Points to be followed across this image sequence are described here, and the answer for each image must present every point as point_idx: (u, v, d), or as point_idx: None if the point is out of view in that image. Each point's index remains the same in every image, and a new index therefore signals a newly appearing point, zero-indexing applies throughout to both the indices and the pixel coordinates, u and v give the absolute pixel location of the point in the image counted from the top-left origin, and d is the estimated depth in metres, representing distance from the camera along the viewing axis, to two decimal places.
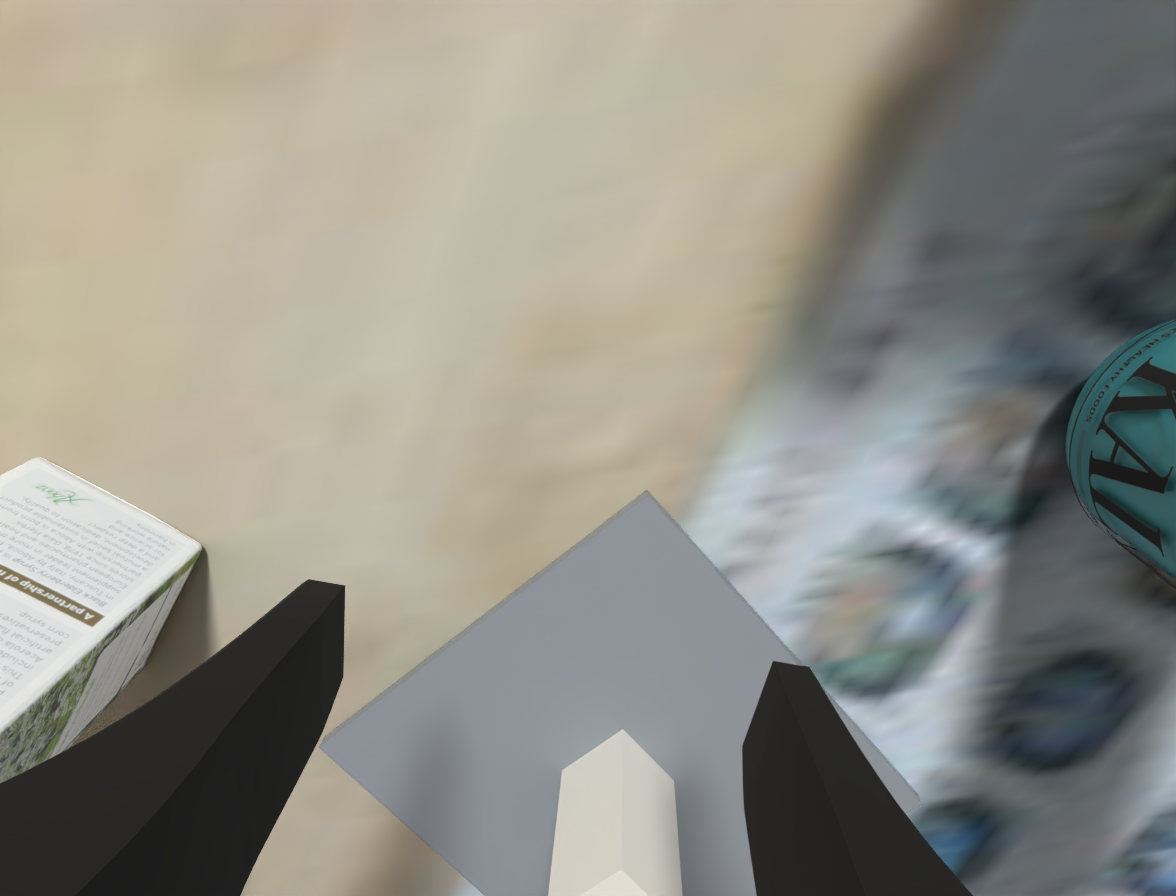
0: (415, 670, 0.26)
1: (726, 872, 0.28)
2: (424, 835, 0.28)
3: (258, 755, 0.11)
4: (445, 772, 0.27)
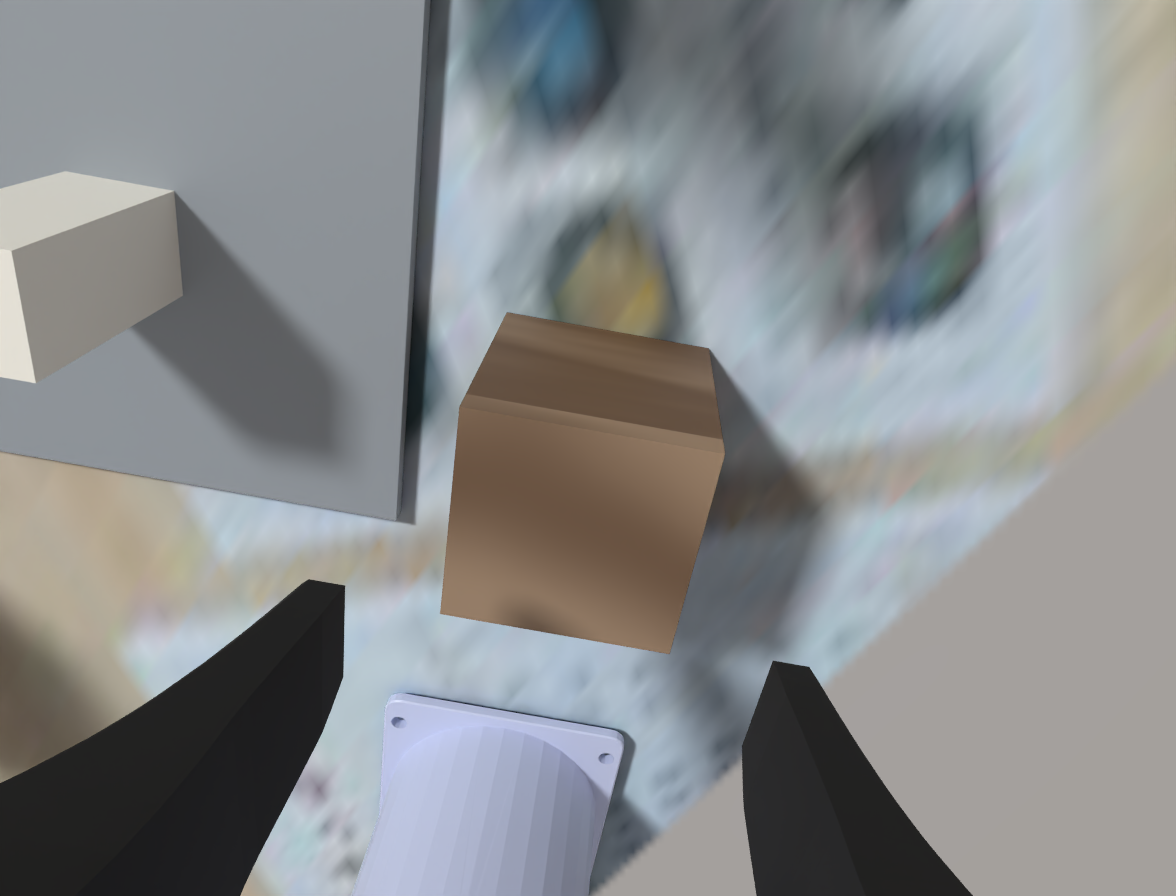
0: None
1: (344, 263, 0.20)
2: (77, 458, 0.23)
3: (258, 755, 0.11)
4: None
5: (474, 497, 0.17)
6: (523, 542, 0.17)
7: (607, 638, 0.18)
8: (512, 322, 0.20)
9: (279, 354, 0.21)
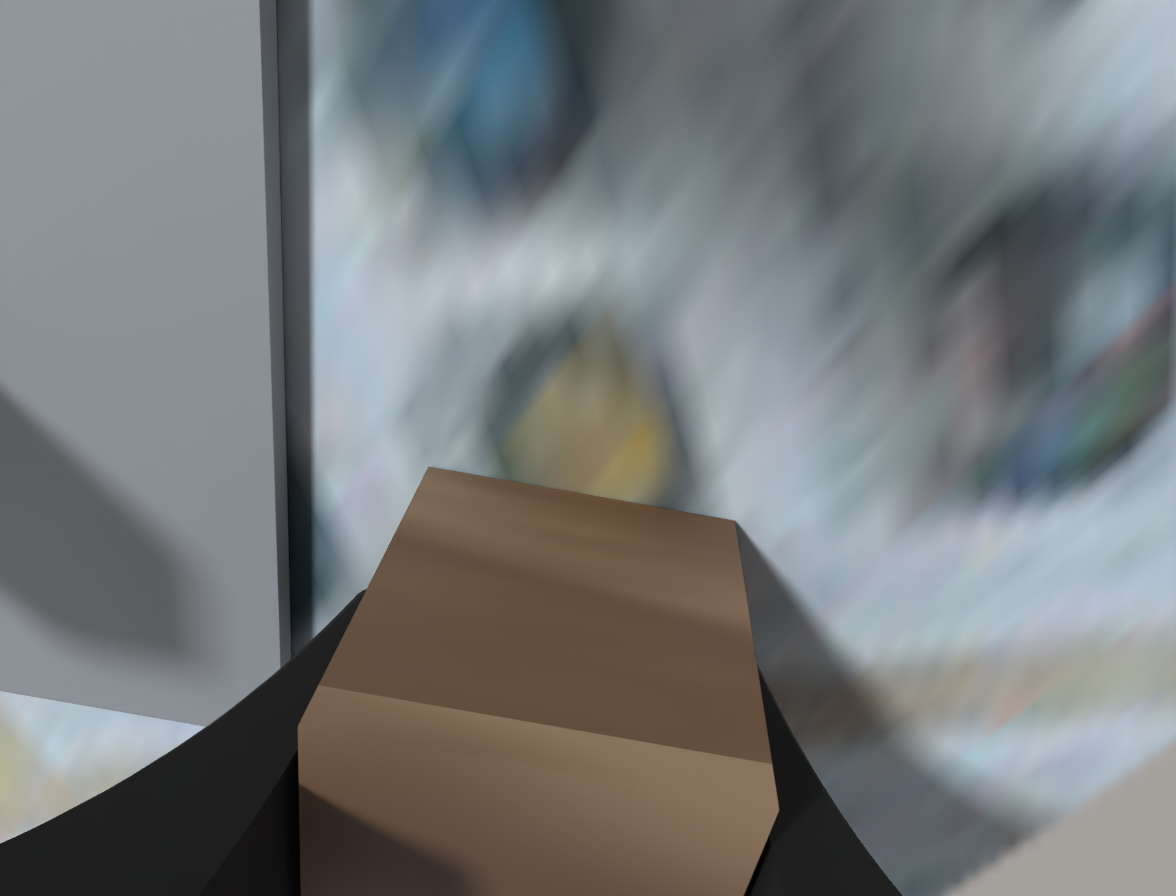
0: None
1: (171, 400, 0.13)
2: None
3: None
4: None
5: (340, 851, 0.10)
6: None
7: None
8: (433, 489, 0.13)
9: (90, 524, 0.14)
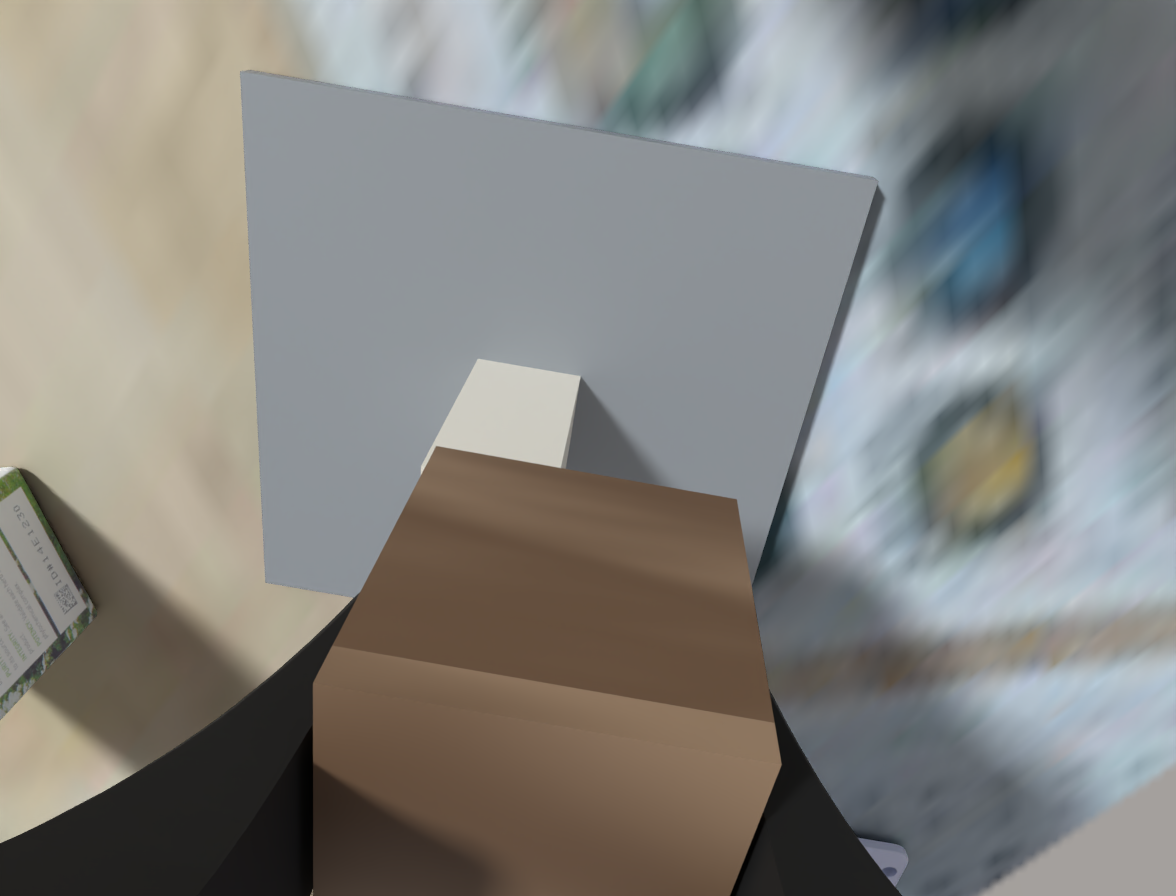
0: None
1: (732, 439, 0.21)
2: None
3: None
4: (379, 529, 0.23)
5: (352, 810, 0.10)
6: (439, 872, 0.10)
7: None
8: (441, 467, 0.13)
9: None
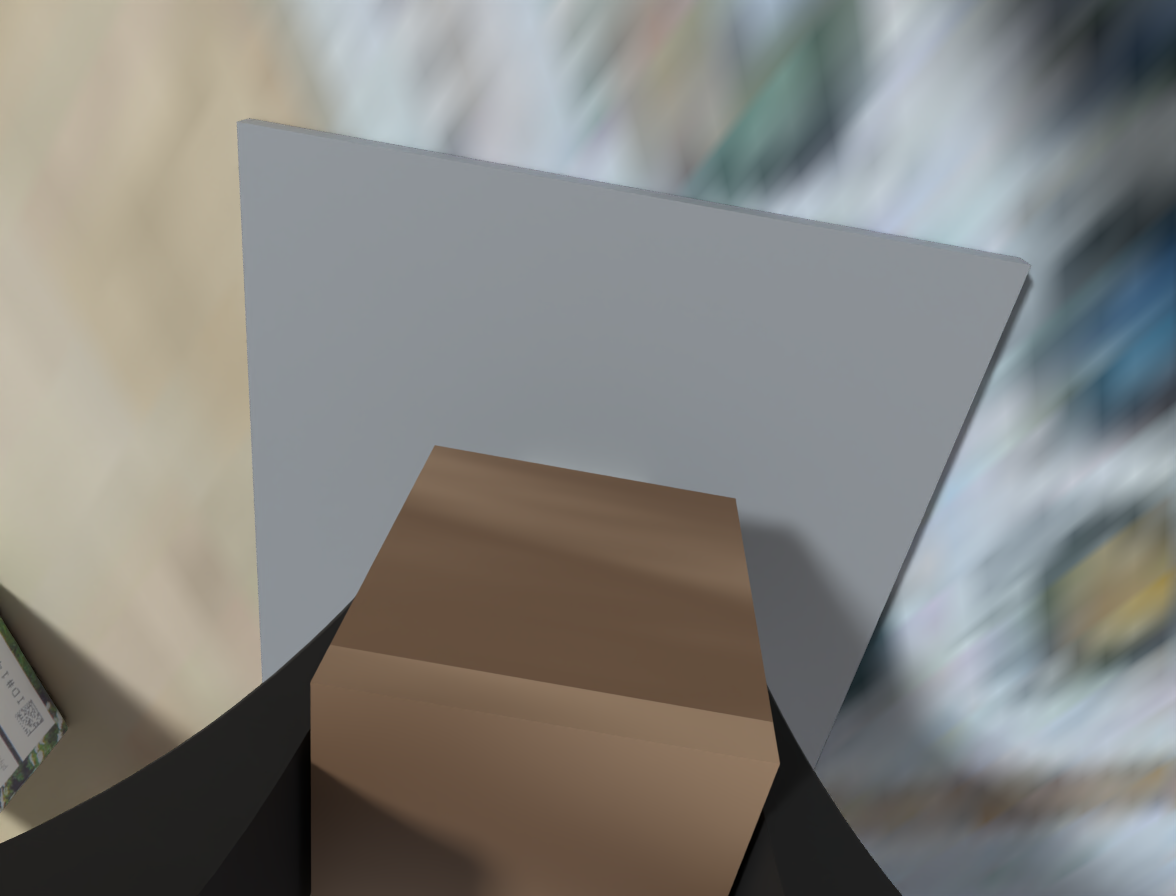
0: None
1: (825, 557, 0.17)
2: None
3: None
4: None
5: (351, 810, 0.10)
6: (436, 872, 0.10)
7: None
8: (439, 467, 0.13)
9: None
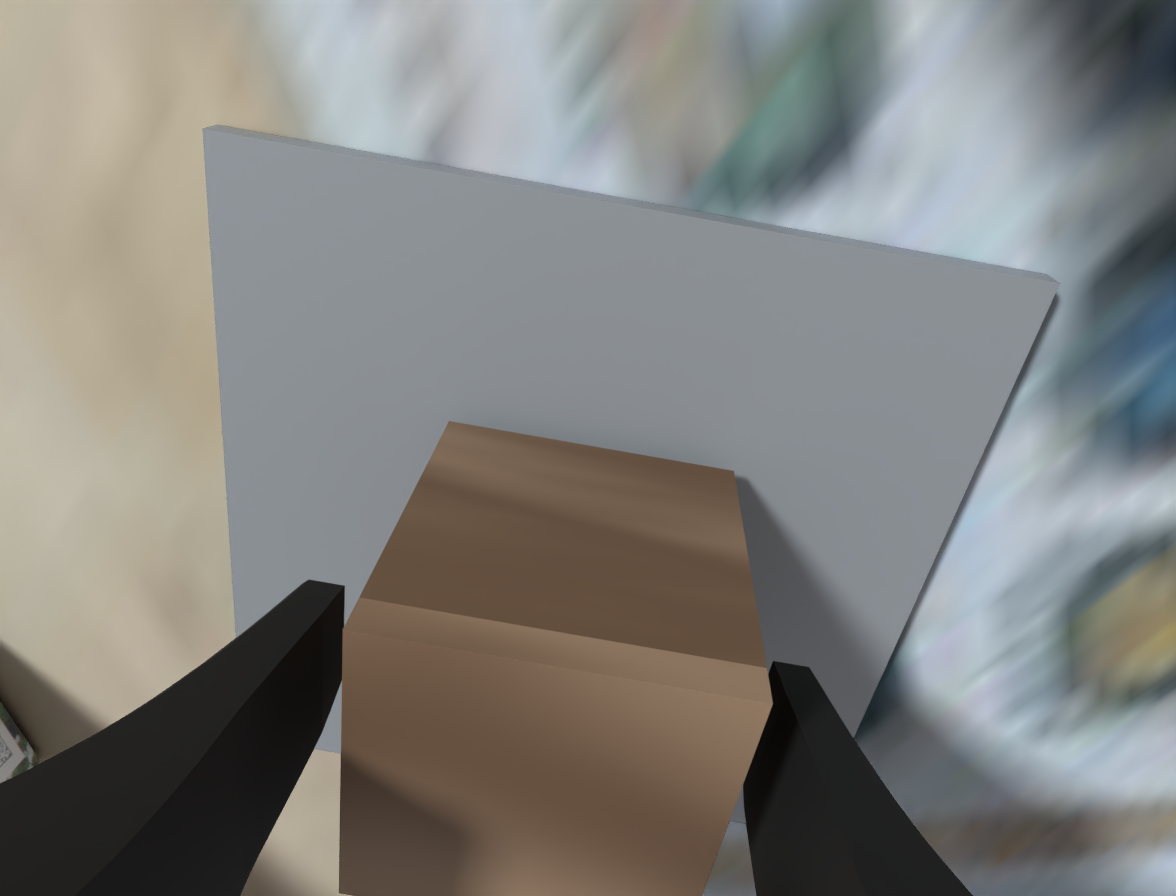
0: None
1: (836, 590, 0.16)
2: None
3: (258, 755, 0.11)
4: None
5: (378, 752, 0.11)
6: (456, 810, 0.11)
7: None
8: (454, 440, 0.14)
9: None
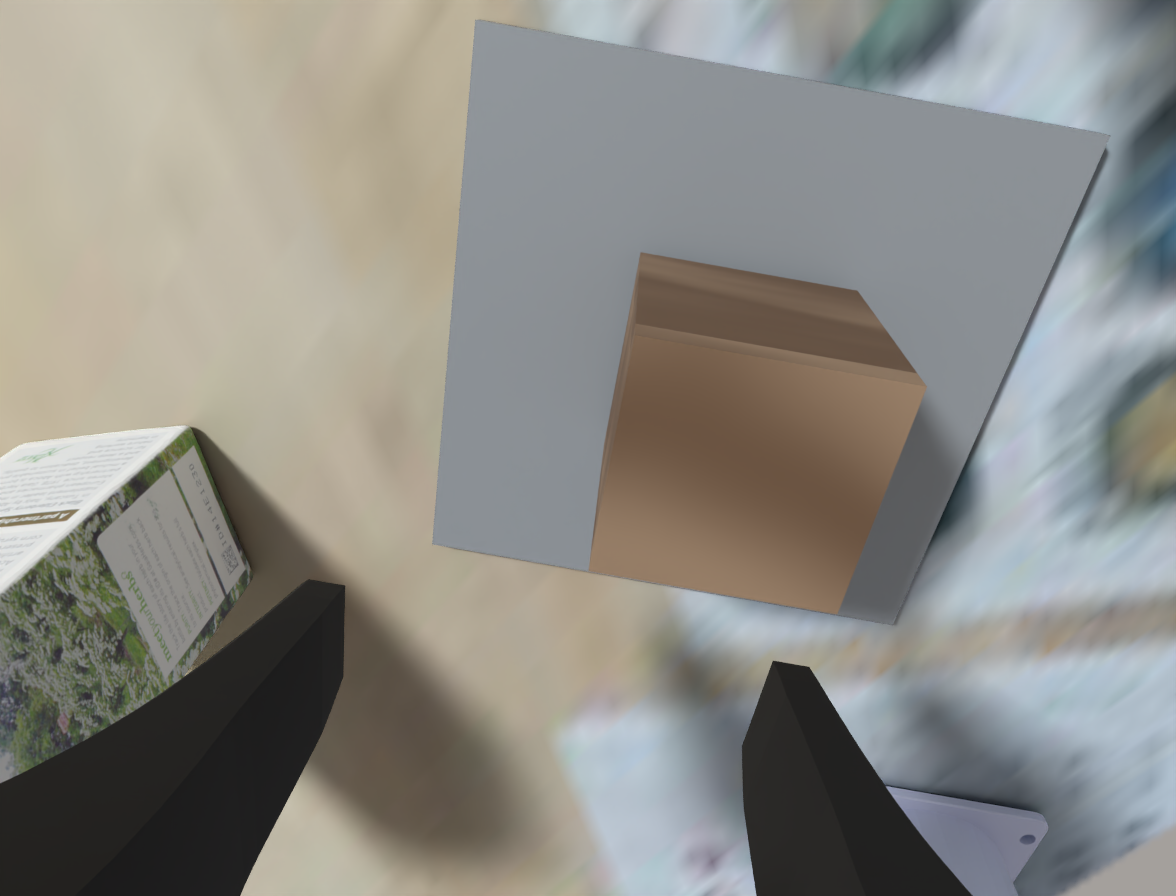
0: None
1: (927, 398, 0.21)
2: None
3: (258, 755, 0.11)
4: (555, 490, 0.23)
5: (641, 439, 0.15)
6: (689, 489, 0.16)
7: (770, 597, 0.17)
8: (650, 261, 0.18)
9: None
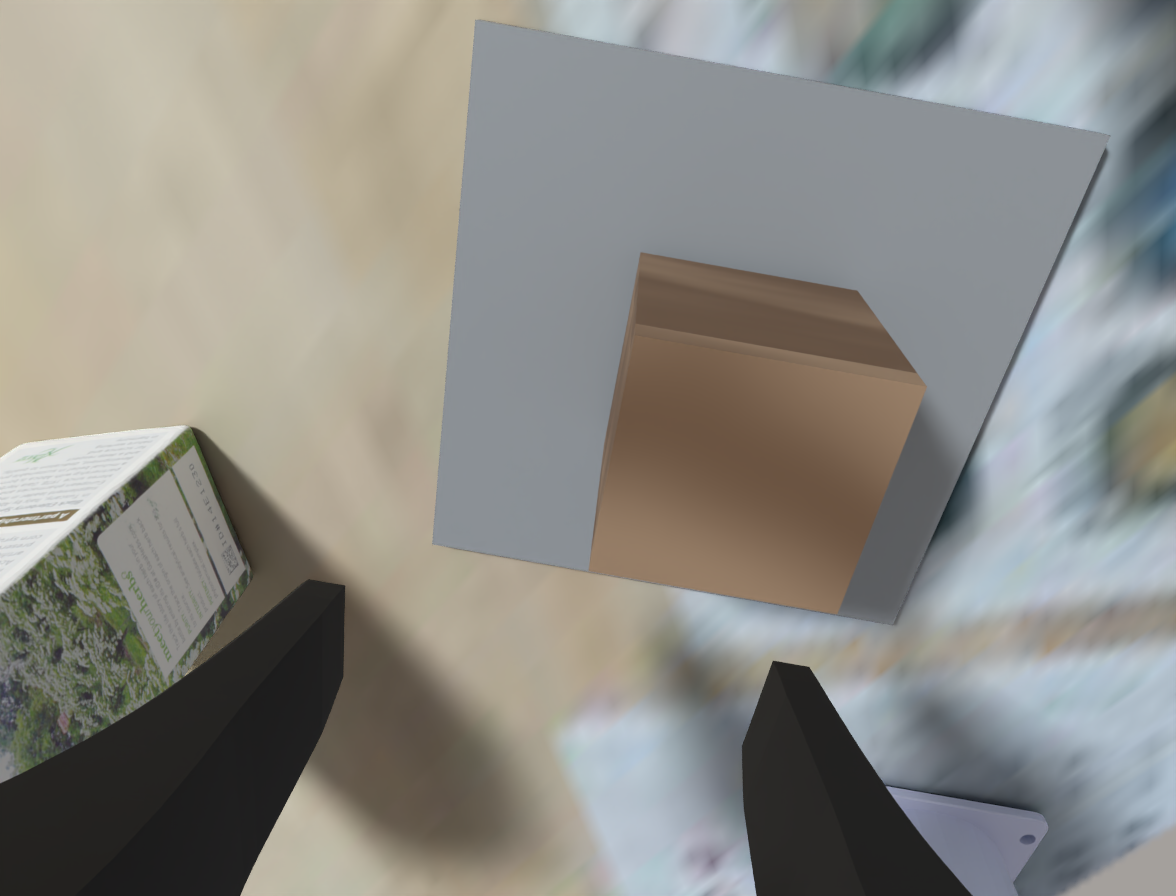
0: None
1: (927, 398, 0.21)
2: None
3: (258, 755, 0.11)
4: (555, 490, 0.23)
5: (641, 439, 0.15)
6: (689, 489, 0.16)
7: (770, 597, 0.17)
8: (650, 261, 0.18)
9: None
